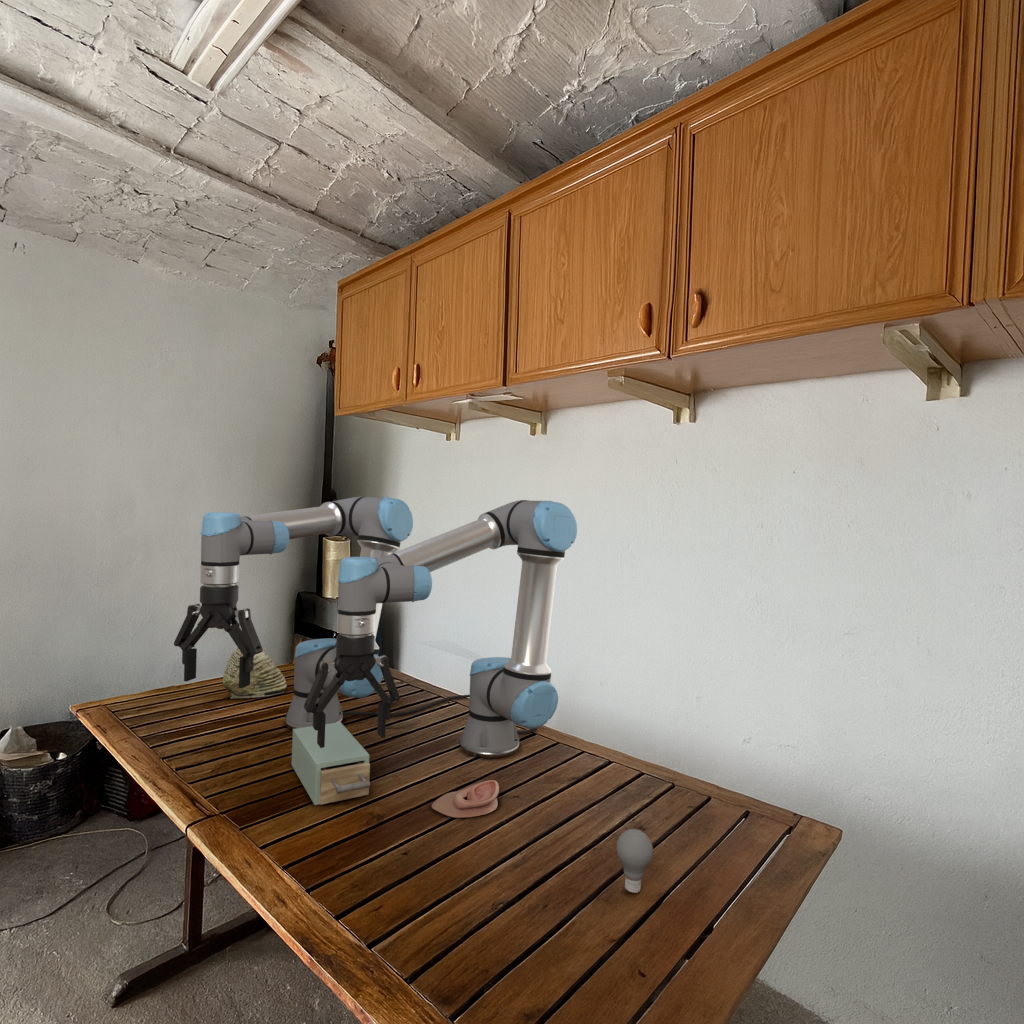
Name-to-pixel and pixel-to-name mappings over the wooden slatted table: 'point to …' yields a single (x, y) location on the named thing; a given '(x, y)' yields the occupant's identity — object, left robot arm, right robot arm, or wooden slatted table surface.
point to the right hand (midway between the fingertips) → (351, 740)
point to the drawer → (344, 782)
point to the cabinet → (323, 754)
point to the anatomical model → (469, 800)
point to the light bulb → (634, 857)
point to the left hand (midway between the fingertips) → (216, 683)
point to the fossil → (254, 677)
